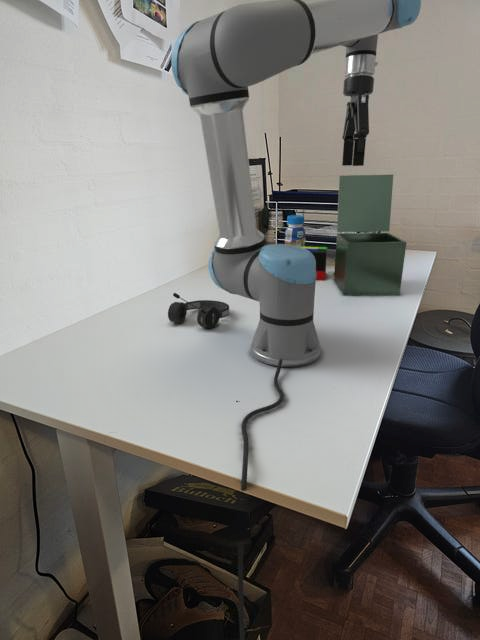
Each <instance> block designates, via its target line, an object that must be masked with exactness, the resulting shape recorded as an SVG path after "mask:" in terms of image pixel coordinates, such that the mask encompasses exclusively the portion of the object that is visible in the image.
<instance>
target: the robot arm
mask: <svg viewBox="0 0 480 640" xmlns="http://www.w3.org/2000/svg"><path fill="white" fill-rule="evenodd" d="M421 5H422V0H316V1H312V2H306V1H304V0H267V1H257V2H246V3H241V4H237V5H234V6H231V7H229V8H227V9H226V10H223V11H221V12H218V13H215V14H213V15H210V16H208V17H206V18H203V19H201V20H197V21H195V22H194V23H192V24H190V25H189V26H188V27H186V28H185V29H184V30H183V31H181V32H180V33H179V35H178V36H177V37H176V39H175V41H174V43H173V47H172V51H171V58H170V61H171V63H170V64H171V72H172V75H173V79H174V81H175V83H176V85H177V86H178V87H179V88H180V89H181V91H182V92H183V94H185V95H187V97H188V101H189V107H190V109H191V110H192V111H193V112H194V113H195V114H197V115H198V117H199V120H200V126H201V132H202V138H203V144H204V145H203V146H204V150H205V151H204V152H205V158H206V163H207V169H208V175H209V181H210V189H211V193H212V200H213V207H214V212H215V218H216V224H217V230H218V235H217V237H216V238H215V239H214V240H213V249H212V251H211V253H210V255H211V256H210V257H209V258H208V273H209V276H210V278H211V280H212V282H213V283H214V284H215V285H216V286H217V287H218V288H219V289H221V290H224V291H225V292H227V293H229V294H231V295H237V296H240V297H244V298H247V299H250V300H253V301H256V302H259V321H258V324H257V327H256V330H255V333H254V335H253V339H252V342H251V354H252V356H253V357H254V358H255V359H256V360H257V361H259V362H261V363H263V364H266V365H268V366H274V367H276V371H275V374H274V377H273V386H274V388H275V389H276V391H277V393H278V395H279V397H278V399H277V401H275V402H274V403H272V404H268V405H266V406H263V407H259V408H257V409H255V410H252V411H251V412H249V413H248V414H246V416H244V417H243V420H242V422H241V433H242V438H243V453H242V454H243V455H242V466H241V467H242V468H241V484H240V490H241V491H242V492H245V491H247V483H248V482H247V481H248V469H249V468H248V467H249V443H250V442H249V436H248V431H247V423H248V422H249V420H250V419H251V418H252V417H254V416H255V415H258V414H262V413H265V412H267V411H270V410H273V409H275V408H277V407H278V406H280V405H281V404H282V403H283V401H284V397H285V396H284V392H283V390H282V389H281V387H280V386H279V382H278V381H279V375H280V372H281V369H282V368H295V367H303V366H307V365H310V364H312V363H314V362H316V360H318V359H319V358H320V355H321V344H320V340H319V335H318V333H317V329H316V326H315V324H314V314H315V295H316V282H317V280H316V276H317V274H316V260H315V257H314V255H313V254H312V253H311V252H310V251H308V250H306V249H304V248H301V247H298V246H294V245H285V243H270V244H267V245H266V240H265V234H264V233H263V232H262V231H260V230H259V229H258V227H257V220H256V218H257V217H256V209H255V203H254V193H253V185H252V176H251V168H250V161H249V151H248V143H247V134H246V127H245V117H244V108H245V106H246V105H247V103H248V102H249V101H250V93H249V92H250V91H249V87H251V86H255V85H257V84H259V83H262V82H264V81H266V80H269V79H270V78H272V77H274V76H276V75H280V74H281V73H283V72H285V71H288V70H290V69H292V68H294V67H295V68H296V67H298V66H300V65H303V64H304V63H306V62H307V61H308V60H309V59H310V58H311V55H314V54H317V53H320V52H324V51H327V50H330V49H333V48H337V47H345V58H344V70H343V71H344V72H343V73H344V74H343V76H344V77H345V78H344V80H343V89H342V94H343V95H344V96H345V97H350V101H347V103H346V111H345V112H346V113H345V119H344V126H343V132H342V137H341V138H342V140H343V147H342V148H343V149H342V161H341V163H342V164H341V166H344V167H345V166H347V167H348V166H352V167H363V166H364V164H365V153H366V145H367V144H366V143H367V142H366V141H367V137H368V135H369V134H370V118H369V117H370V116H369V115H370V114H369V113H370V112H369V100H370V95H372V94H373V93H374V84H375V78H374V77H373V76H374V75H375V72H376V67H377V66H378V61H376V60H377V47H378V39H379V35H380V34H384V33H387V32H390V31H394V30H397V29H402V28H404V27H407V26H410V25H412V24H413V23H415V21H416V20H417V19H418V17H419V15H420V11H421V8H422V7H421ZM237 588H238V589H237V593H238V623H239V640H246V638H245V635H246V634H245V607H244V606H245V605H244V601H245V600H244V543H237Z"/></svg>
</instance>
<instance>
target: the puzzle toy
mask: <svg viewBox="0 0 480 640" xmlns="http://www.w3.org/2000/svg"><path fill="white" fill-rule="evenodd" d="M301 248H304V249H306V250H308V251H310V252H311V253H312V254H313V255H314V257H315V260H316V274H317V276H316V281H325V279H326V273H327V260H328V246H327V247H326V246H305V247H301Z"/></svg>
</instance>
